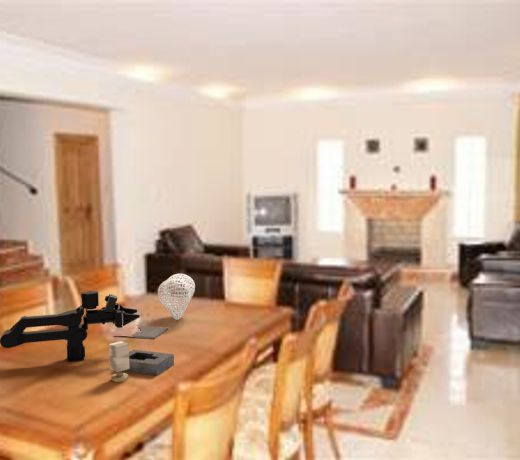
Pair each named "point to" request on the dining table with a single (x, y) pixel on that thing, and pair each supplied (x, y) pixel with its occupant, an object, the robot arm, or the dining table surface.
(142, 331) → the play button award
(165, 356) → the keyhole plate
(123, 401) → the dining table surface
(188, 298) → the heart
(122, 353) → the keyhole post
